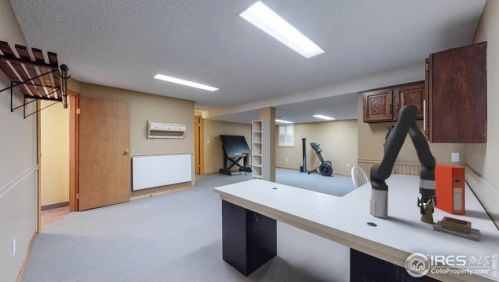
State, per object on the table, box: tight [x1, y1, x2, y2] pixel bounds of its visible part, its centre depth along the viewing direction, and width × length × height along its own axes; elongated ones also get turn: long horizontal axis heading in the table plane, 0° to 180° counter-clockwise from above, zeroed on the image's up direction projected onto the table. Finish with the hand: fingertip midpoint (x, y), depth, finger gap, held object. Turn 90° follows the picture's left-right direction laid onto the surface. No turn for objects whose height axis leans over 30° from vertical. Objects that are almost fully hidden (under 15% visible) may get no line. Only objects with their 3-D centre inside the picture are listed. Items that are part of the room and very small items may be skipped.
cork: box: [420, 204, 435, 225], centre depth 119 cm, size 6×6×11 cm
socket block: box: [433, 215, 481, 242], centre depth 107 cm, size 16×16×6 cm
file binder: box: [434, 164, 466, 216], centre depth 141 cm, size 8×17×32 cm, turn 172°
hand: (427, 213), depth 119 cm, fingers open, 8 cm apart
